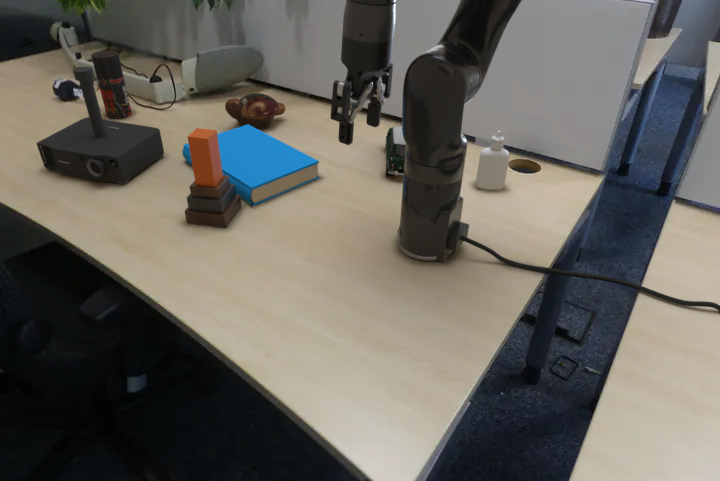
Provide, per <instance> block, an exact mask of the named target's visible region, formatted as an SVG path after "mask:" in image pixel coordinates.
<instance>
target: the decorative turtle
mask: <svg viewBox="0 0 720 481" xmlns="http://www.w3.org/2000/svg"><path fill="white" fill-rule="evenodd" d="M224 108H225V111H226V112H227V115H229V116H230V117H231V118H232V119H234V120H236V122H237V123H238V124H239V125H241V126H244V125H247V124H248V125H250V126H252V127H254V128H256V127H257V126H258V125H261V126H262V127H264V128H266V129H268V128H269V127H270V126H271V124H272V122H273V119H274V118H275V117H277V116H282V115H284V113H285V112H286V105H285V104H284V103H282V102H278V101H277V100H276V99H275V98H274V97H272V96H270V95H268V94H265V93H264V94H263V93H258V92H257V93H256V92H253V93H249V94H245V95H244V96H242V97H241V98H236V97H231V98H229V99H227V100H226V102H225V104H224Z"/></svg>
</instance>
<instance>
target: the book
mask: <svg viewBox="0 0 720 481" xmlns="http://www.w3.org/2000/svg"><path fill="white" fill-rule="evenodd" d="M217 137H218V144H219V151H220V158H221V165H222V173H223V175H226V176H229V179H230V184H235V190H236V195H240V198H241V200H242V199H243V200H244V201H245V202H247V203H248V204H250V205H251V206H254V207H255V206H256V205H259V204H261V203H264V202H266V201H269V200H271V199H273V198H275V197H279V196H281V195H282V194H285V193H287V192H290V191H293V190H294V189H297V188H299V187H301V186H304V185H306V184H309V183H311V182H314V181H316V180H318V179H320V176H319V163H320V161H319V160H318V159H316V158H314V157H313V156H310V155H308V154H306V153H304V152H303V151H301V150H299V149H297V148H294V147H293V146H291V145H289V144H287V143H285V142H284V141H281V140H280V139H278V138H276V137H273V136H272V135H270V134H268V133H265V132H264V131H262V130H260V129H258V128H256V127H255V128H254V127H252V126H250V125H248V124H247V125H244V124H243V125H241V126H239V127H235V128H232V129H229V130H225V131H222V132H218V133H217ZM182 156H183V158H184V160H185V161H186V163H188V164H190V165H191V166H192V160H191V154H190V148H189V143H184V144H183V148H182Z"/></svg>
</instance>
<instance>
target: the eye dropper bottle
mask: <svg viewBox="0 0 720 481" xmlns="http://www.w3.org/2000/svg"><path fill="white" fill-rule="evenodd" d="M504 142H505V138H504V136H503V135H502V131H501V130H497V131H496V133H495V135H492V136H491V138H490V142H489V143H490V144H489V146H488V147H485V148H483V149H481V151H480V153H479V158H478V164H477V171H476V176H475V186H476V188H478V189H481V190H486V191H500V190H503V189H504V187H505V183H506V178H507V173H508V168H509V164H510V158H511V156H510V153H509V151H508V150H507V149H506V148H504Z"/></svg>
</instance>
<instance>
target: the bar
mask: <svg viewBox="0 0 720 481" xmlns="http://www.w3.org/2000/svg"><path fill="white" fill-rule="evenodd" d="M217 134H218V130H217V129H210V128H199V127H197V128H195V129H194V130H193V131H192V132H190V134H188V135H187V142H188V143H189V148H190V154H191V160H192V165H191V166H192V171H193V176H194V181H195V183H196V185H205V186H213V187H215V186H216V185H217V184H218V183H219V181H220V180H221V179H222V178H223V173H222V165H221V158H220V151H219V144H218V137H217Z"/></svg>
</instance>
